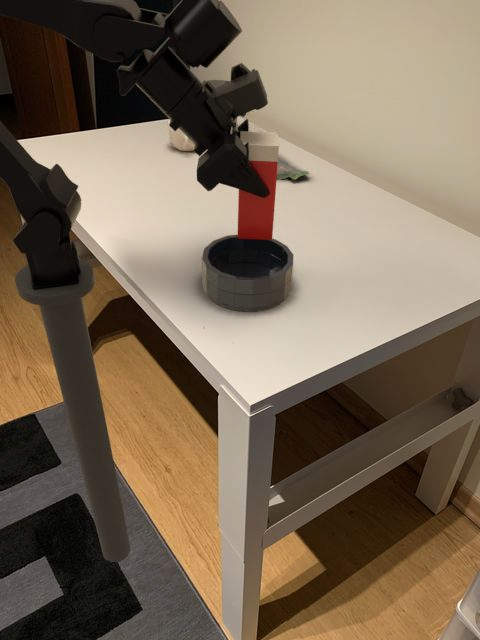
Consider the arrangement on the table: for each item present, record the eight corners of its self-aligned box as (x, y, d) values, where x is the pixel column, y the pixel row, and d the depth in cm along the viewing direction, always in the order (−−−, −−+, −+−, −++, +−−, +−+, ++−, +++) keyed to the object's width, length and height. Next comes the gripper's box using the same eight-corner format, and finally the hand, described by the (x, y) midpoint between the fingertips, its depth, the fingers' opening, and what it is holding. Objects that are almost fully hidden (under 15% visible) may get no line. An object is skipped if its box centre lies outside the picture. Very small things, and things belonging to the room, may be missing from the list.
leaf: (230, 156, 121) (230, 151, 120) (260, 149, 124) (260, 144, 123) (281, 185, 107) (281, 180, 106) (313, 177, 110) (313, 172, 109)
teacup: (169, 140, 123) (167, 115, 119) (203, 141, 124) (203, 116, 120) (168, 158, 115) (167, 131, 112) (205, 158, 116) (205, 132, 113)
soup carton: (237, 238, 76) (240, 144, 68) (237, 222, 80) (240, 131, 72) (272, 240, 77) (279, 145, 68) (270, 223, 80) (277, 132, 72)
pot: (216, 318, 74) (216, 286, 71) (193, 269, 83) (192, 239, 80) (303, 303, 77) (307, 273, 74) (272, 258, 86) (274, 229, 83)
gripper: (226, 66, 56) (321, 176, 64) (230, 29, 70) (307, 122, 78) (153, 140, 61) (250, 235, 68) (171, 92, 75) (249, 174, 83)
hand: (266, 187), depth 74 cm, fingers closed on soup carton, 5 cm apart
